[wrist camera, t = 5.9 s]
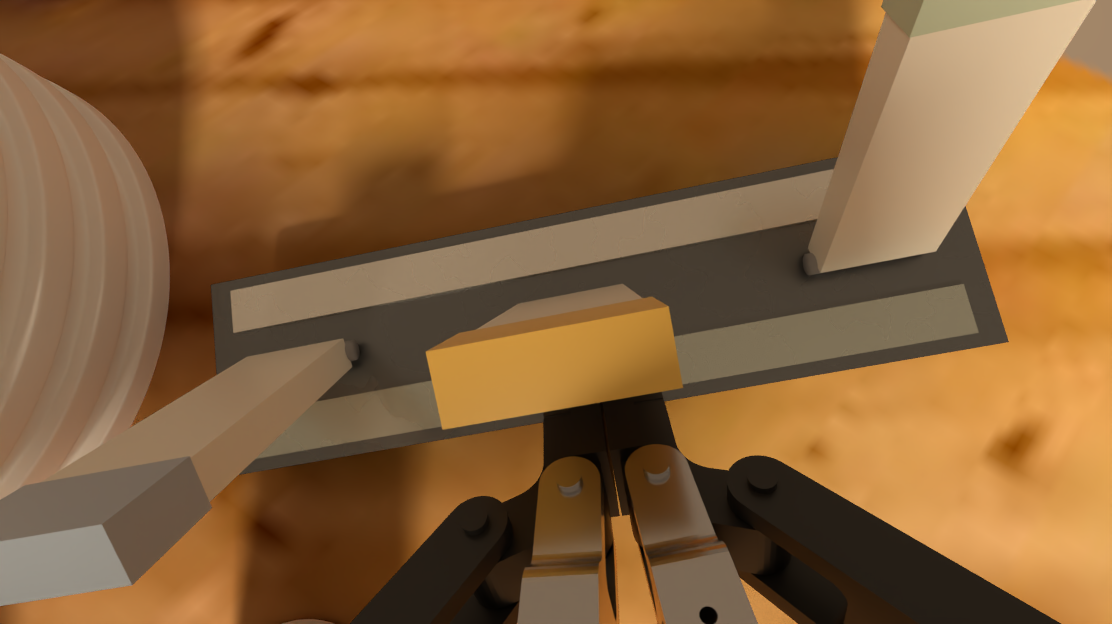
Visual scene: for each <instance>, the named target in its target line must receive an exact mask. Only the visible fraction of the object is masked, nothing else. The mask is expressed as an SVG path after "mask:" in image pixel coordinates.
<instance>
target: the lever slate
mask: <svg viewBox="0 0 1112 624" xmlns="http://www.w3.org/2000/svg"><path fill="white" fill-rule="evenodd" d="M359 355H360V351H359V346H358V344H357V342H356V341H355V340H350V341H345V342H344V339H343V338H342V339H337V340H332V341H327V342H321V343H316V344H311V345H306V346H300V347H295V348H290V349H285V350H279V351H274V352H269V353H264V354H259V355H253V356H248V357H246V358H244V359H242V360H241V361H239V362H237V363H236V364H234V365H232V366H231V367H229V368H228V369H226V370H224V371H223V372H221V373H219V374H218V375H216V376H214V377H213V378H211V379H209V380H208V381H206V382H204V383H203V384H201V385H200V386H198V387H196V388H195V389H193V390H191V391H190V392H188V393H186V394H185V395H183V396H181V397H180V398H178V399H176V400H175V401H173V402H172V403H170V404H168V405H167V406H165V407H163V408H162V409H160V410H158V411H157V412H155V413H153V414H152V415H150V416H149V417H147V418H145V419H144V420H142V421H140V422H139V423H137V424H135V425H134V426H132V427H130V428H129V429H127V430H125V431H124V432H122V433H121V434H119V435H117V436H116V437H114V438H112V439H111V440H109V441H107V442H106V443H104V444H102V445H101V446H99V447H97V448H96V449H94V450H93V451H91V452H89V453H88V454H86V455H84V456H83V457H81V458H79V459H78V460H76V461H74V462H73V463H71V464H70V465H68V466H66V467H65V468H63V469H61V470H60V471H58V472H56V473H55V474H53V475H51V476H50V477H48V478H46V479H45V480H43V481H42V482H40V483H34V484H29V485H24V486H23V487H21V488H19V489H18V490H16V491H14V492H13V493H11V494H9V495H8V496H6V497H4V498H2V499H1V500H0V606H4V605H10V604H16V603H23V602H29V601H35V600H42V599H48V598H54V597H61V596H67V595H73V594H80V593H86V592H92V591H99V590H105V589H111V588H118V587H124V586H131V585H133V584H134V583H135V582H136V581H137V580H138V579H139V578H140V577H141V576H142V575H143V574H144V573H145V572H146V571H147V570H148V569H149V568H151V567H152V566H153V565H154V564H155V563H156V562H157V561H158V560H159V559H160V558H161V557H162V556H163V555H164V554H165V553H166V552H167V551H168V550H169V549H170V548H171V547H172V546H173V545H174V544H175V543H176V542H177V541H178V540H179V539H180V538H181V537H182V536H184V535H185V534H186V533H187V532H188V531H189V530H190V529H191V528H192V527H193V526H194V525H195V524H196V523H197V522H198V521H199V520H200V519H201V518H202V517H203V516H204V515H205V514H206V513H207V512H208V511H209V510H210V509H211V508H212V507H211V504H210V501H211V500H212V499H213V498H214V497H215V496H216V495H218V494H219V493H220V492H221V491H222V490H223V489H224V488H225V487H226V486H227V485H228V484H229V483H230V482H231V481H232V480H233V479H234V478H235V477H237V476H238V475H239V474H240V473H241V472H242V471H243V470H244V469H245V468H246V467H247V466H248V465H249V464H250V463H251V462H252V461H253V460H254V459H256V458H257V457H258V456H259V455H260V454H261V453H262V452H263V451H264V450H265V449H266V448H267V447H268V446H269V445H270V444H271V443H272V442H274V441H275V440H276V439H277V438H278V437H279V436H280V435H281V434H282V433H283V432H284V431H285V430H286V429H287V428H288V427H289V426H290V425H291V424H293V423H294V422H295V421H296V420H297V419H298V418H299V417H300V416H301V415H302V414H303V413H304V412H305V411H306V410H307V409H308V408H309V407H310V406H312V405H313V404H314V403H315V402H316V401H317V400H318V399H319V398H320V397H321V396H322V395H323V394H324V393H325V392H326V391H327V390H328V389H329V388H331V387H332V386H333V385H334V384H335V383H336V382H337V381H338V380H339V379H340V378H341V377H342V376H343V375H344V374H345V373H346V372H347V371H348V370H350V369H351V368H352V364H351V361H354V360H357V359H358V358H359Z"/></svg>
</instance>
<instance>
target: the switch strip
mask: <svg viewBox="0 0 1112 624" xmlns="http://www.w3.org/2000/svg"><path fill="white" fill-rule="evenodd" d="M837 158H838V157H837ZM837 158H832V159H827V160H822V161H817V162H812V163H807V164H802V165H797V166H792V167H787V168H782V169H778V170H773V171H768V172H763V173H758V174H753V175H748V176H743V177H738V178H733V179H728V180H724V181H719V182H714V183H709V184H704V185H699V186H694V187H689V188H684V189H679V190H674V191H669V192H665V193H660V194H655V195H650V196H645V197H640V198H635V199H630V200H625V201H620V202H615V203H611V204H606V205H601V206H596V207H591V208H586V209H581V210H576V211H571V212H566V213H561V214H556V215H552V216H547V217H542V218H537V219H532V220H527V221H522V222H517V223H512V224H507V225H502V226H498V227H493V228H488V229H483V230H478V231H473V232H468V233H463V234H458V235H453V236H448V237H444V238H439V239H434V240H429V241H424V242H419V243H414V244H409V245H404V246H399V247H394V248H389V249H385V250H380V251H375V252H370V253H365V254H360V255H355V256H350V257H345V258H340V259H335V260H331V261H326V262H321V263H316V264H311V265H306V266H301V267H296V268H291V269H286V270H281V271H276V272H272V273H267V274H262V275H257V276H252V277H247V278H242V279H237V280H232V281H227V282H222V283H218V284H213V285H211V293H212V309H213V324H214V340H215V356H216V372H217V375H218V374H219V373H221V372H223V371H224V370H226V369H228V368H229V367H231V366H232V365H234V364H236V363H237V362H239V361H241V360H242V359H244V358H246V357H248V356H253V355H259V354H264V353H269V352H274V351H279V350H285V349H290V348H295V347H300V346H306V345H311V344H316V343H321V342H327V341H332V340H337V339H342V338H343V339H344V342H345V341H350V340H355V341H356V342H357V344H358V346H359V351H360V355H359V358H358V359H357V360H354V361H351V364H352V368H351V369H350V370H348V371H347V372H346V373H345V374H344V375H343V376H342V377H341V378H340V379H339V380H338V381H337V382H336V383H335V384H334V385H333V386H332V387H331V388H329V389H328V390H327V391H326V392H325V393H324V394H323V395H322V396H321V397H320V398H319V399H318V400H317V401H316V402H315V403H314V404H313V405H312V406H310V407H309V408H308V409H307V410H306V411H305V412H304V413H303V414H302V415H301V416H300V417H299V418H298V419H297V420H296V421H295V422H294V423H293V424H291V425H290V426H289V427H288V428H287V429H286V430H285V431H284V432H283V433H282V434H281V435H280V436H279V437H278V438H277V439H276V440H275V441H274V442H272V443H271V444H270V445H269V446H268V447H267V448H266V449H265V450H264V451H263V452H262V453H261V454H260V455H259V456H258V457H257V458H256V459H254V460H253V461H252V462H251V463H250V464H249V465H248V466H247V467H246V468H245V469H244V470H243V471H242V472H241V473H240V474H246V473H252V472H258V471H263V470H269V469H275V468H281V467H287V466H292V465H298V464H304V463H310V462H316V461H321V460H327V459H333V458H339V457H345V456H350V455H356V454H362V453H368V452H374V451H379V450H385V449H391V448H397V447H403V446H408V445H414V444H420V443H426V442H432V441H437V440H443V439H449V438H455V437H460V436H466V435H472V434H478V433H484V432H489V431H495V430H501V429H507V428H513V427H518V426H524V425H530V424H536V423H542V422H543V419H544V416H543V412H542V413H536V414H530V415H525V416H519V417H513V418H508V419H502V420H496V421H490V422H485V423H479V424H473V425H467V426H462V427H456V428H450V429H444V430H442V425H441V420H440V416H439V411H438V407H437V402H436V398H435V393H434V388H433V384H432V379H431V375H430V370H429V365H428V361H427V356H426V351H428V350H429V349H431V348H433V347H435V346H437V345H438V344H440V343H442V342H444V341H446V340H447V339H449V338H451V337H453V336H455V335H456V334H458V333H461V332H466V331H472V330H476V329H478V328H479V327H481V326H483V325H484V324H486V323H487V322H489V321H491V320H492V319H494V318H496V317H497V316H499V315H501V314H502V313H504V312H505V311H507V310H509V309H510V308H512V307H514V306H515V305H517V304H519V303H524V302H529V301H534V300H540V299H545V298H550V297H555V296H561V295H566V294H571V293H576V292H582V291H587V290H592V289H597V288H602V287H608V286H613V285H618V284H624V285H625V286H627V287H628V288H629V289H631V290H632V291H634V292H635V293H636V294H638V295H639V296H640V297H642V298H647V297H654V298H655V299H657V300H659V301H660V302H662V303H664V304H666V305H667V306H669V311H670V317H671V322H672V328H673V333H674V339H675V345H676V350H677V356H678V362H679V367H680V373H681V378H682V384H683V388H680V389H674V390H668V391H663V392H662V395H663V399H664V401H669V400H675V399H681V398H687V397H692V396H698V395H704V394H710V393H716V392H721V391H727V390H733V389H739V388H745V387H750V386H756V385H762V384H768V383H774V382H779V381H785V380H791V379H797V378H803V377H808V376H814V375H820V374H826V373H831V372H837V371H843V370H849V369H855V368H860V367H866V366H872V365H878V364H884V363H889V362H895V361H901V360H907V359H913V358H918V357H924V356H930V355H936V354H942V353H947V352H953V351H959V350H965V349H971V348H976V347H982V346H988V345H994V344H1000V343H1005V342H1009V341H1008V338H1007V335H1006V332H1005V329H1004V326H1003V323H1002V319H1001V316H1000V313H999V310H998V307H997V304H996V301H995V297H994V294H993V291H992V288H991V285H990V282H989V279H988V275H987V272H986V269H985V266H984V263H983V260H982V257H981V253H980V250H979V247H978V244H977V241H976V238H975V235H974V232H973V228H972V225H971V222H970V219H969V216H968V213H967V210H966V206H965V207H964V208H963V210H962V212H961V213H960V215H959V216H958V218H957V219H956V221H955V222H954V224H953V226H952V227H951V229H950V230H949V232H948V233H947V235H946V237H945V238H944V240H943V241H942V243H941V244H940V246H939V247H938V249H937V251H935V252H932V253H926V254H921V255H916V256H910V257H905V258H900V259H894V260H889V261H884V262H878V263H873V264H868V265H862V266H857V267H852V268H846V269H841V270H835V271H830V272H825V273H819V274H814V275H807V274H806V272H805V270H804V267H803V256H804V254H808V253H810V251H809V249H808V246H809V243H810V240H811V237H812V234H813V231H814V228H815V225H816V222H817V219H818V216H819V213H820V210H821V207H822V204H823V201H824V198H825V195H826V192H827V189H828V186H829V183H830V180H831V177H832V174H833V171H834V167H835V164H836V161H837ZM240 474H239V475H240Z"/></svg>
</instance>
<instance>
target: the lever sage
mask: <svg viewBox="0 0 1112 624" xmlns="http://www.w3.org/2000/svg"><path fill="white" fill-rule="evenodd" d="M1095 2H1096V0H883V3H882V6H881V7H882V8H883V9H884V10H885V12H886V14H885V17H884V20H883V23H882V26H881V29H880V32H879V35H878V38H877V41H876V44H875V47H874V50H873V53H872V56H871V59H870V62H869V65H868V68H867V71H866V74H865V77H864V80H863V83H862V86H861V89H860V92H859V95H858V98H857V101H856V104H855V107H854V110H853V113H852V116H851V119H850V122H849V125H848V128H847V131H846V134H845V137H844V140H843V143H842V146H841V149H840V152H839V155H838V158H837V161H836V164H835V167H834V171H833V174H832V177H831V180H830V183H829V186H828V189H827V192H826V195H825V198H824V201H823V204H822V207H821V210H820V213H819V216H818V219H817V222H816V225H815V228H814V231H813V234H812V237H811V240H810V243H809V246H808V249H809V251H810V253H808V254H804V256H803V267H804V270H805V272H806V274H807V275H814V274H819V273H825V272H830V271H835V270H841V269H846V268H852V267H857V266H862V265H868V264H873V263H878V262H884V261H889V260H894V259H900V258H905V257H910V256H916V255H921V254H926V253H932V252H935V251H937V249H938V247H939V246H940V244H941V243H942V241H943V240H944V238H945V237H946V235H947V233H948V232H949V230H950V229H951V227H952V226H953V224H954V222H955V221H956V219H957V218H958V216H959V215H960V213H961V212H962V210H963V208H964V207H965V205H966V204H967V202H968V201H969V199H970V197H971V196H972V194H973V193H974V191H975V190H976V188H977V186H978V185H979V183H980V182H981V180H982V179H983V177H984V176H985V174H986V172H987V171H988V169H989V168H990V166H991V165H992V163H993V161H994V160H995V158H996V157H997V155H998V154H999V152H1000V151H1001V149H1002V147H1003V146H1004V144H1005V143H1006V141H1007V140H1008V138H1009V136H1010V135H1011V133H1012V132H1013V130H1014V129H1015V127H1016V125H1017V124H1018V122H1019V121H1020V119H1021V118H1022V116H1023V115H1024V113H1025V111H1026V110H1027V108H1028V107H1029V105H1030V104H1031V102H1032V100H1033V99H1034V97H1035V96H1036V94H1037V93H1038V91H1039V90H1040V88H1041V86H1042V85H1043V83H1044V82H1045V80H1046V79H1047V77H1048V75H1049V74H1050V72H1051V71H1052V69H1053V68H1054V66H1055V64H1056V63H1057V61H1058V60H1059V58H1060V57H1061V55H1062V54H1063V52H1064V50H1065V49H1066V47H1067V46H1068V44H1069V43H1070V41H1071V39H1072V38H1073V36H1074V35H1075V33H1076V32H1077V30H1078V28H1079V27H1080V25H1081V24H1082V22H1083V21H1084V19H1085V18H1086V16H1087V14H1088V13H1089V11H1090V10H1091V8H1092V7H1093V5H1094V3H1095Z"/></svg>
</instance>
